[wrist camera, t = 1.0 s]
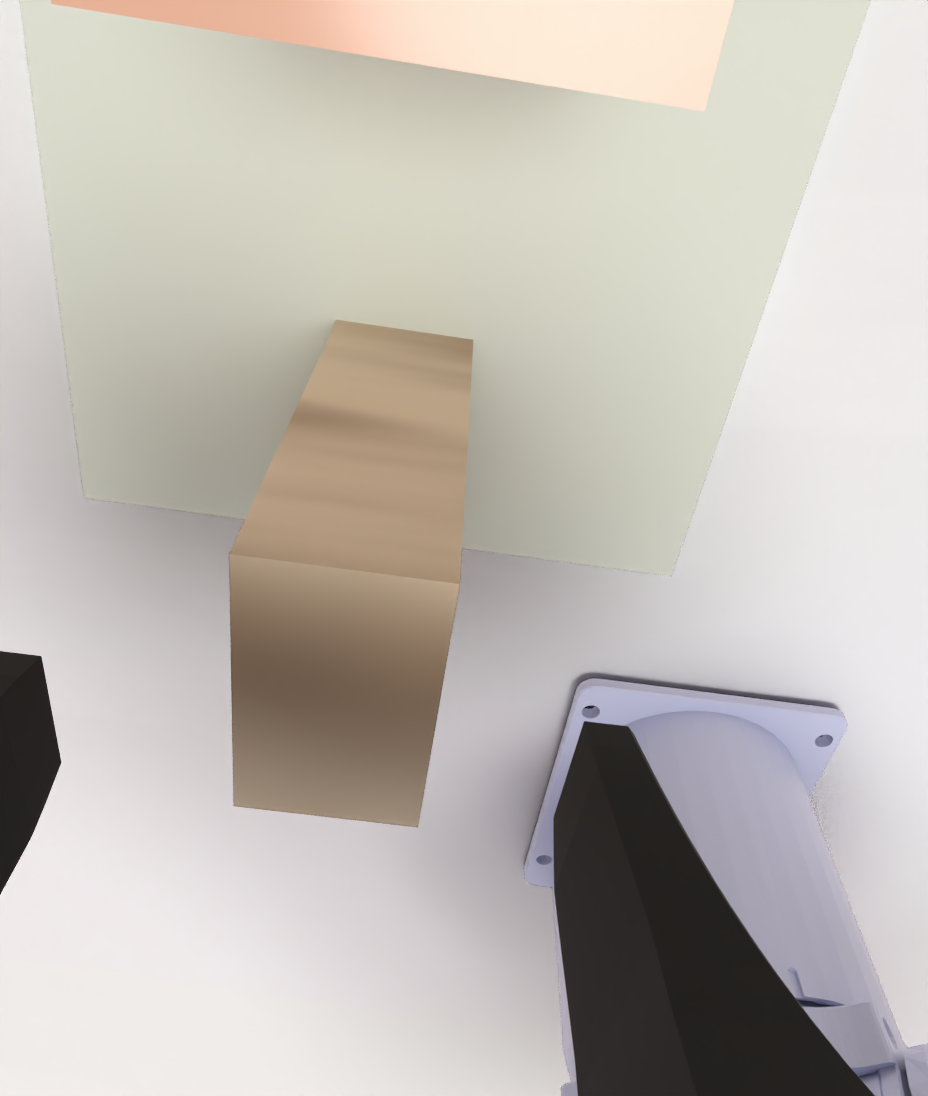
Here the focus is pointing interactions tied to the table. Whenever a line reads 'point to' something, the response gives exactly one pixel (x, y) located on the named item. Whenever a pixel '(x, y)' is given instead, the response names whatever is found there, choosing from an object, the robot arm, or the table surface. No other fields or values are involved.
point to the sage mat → (420, 258)
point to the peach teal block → (489, 37)
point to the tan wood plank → (352, 581)
